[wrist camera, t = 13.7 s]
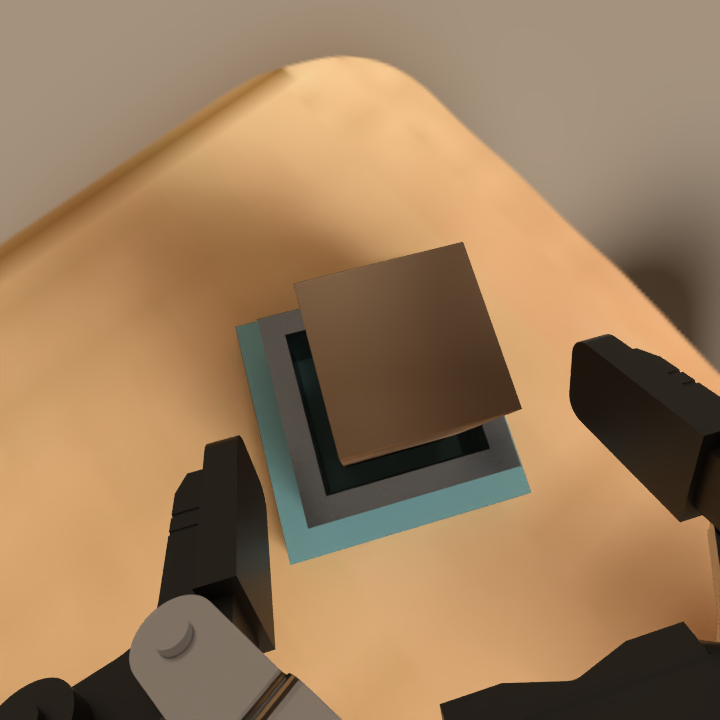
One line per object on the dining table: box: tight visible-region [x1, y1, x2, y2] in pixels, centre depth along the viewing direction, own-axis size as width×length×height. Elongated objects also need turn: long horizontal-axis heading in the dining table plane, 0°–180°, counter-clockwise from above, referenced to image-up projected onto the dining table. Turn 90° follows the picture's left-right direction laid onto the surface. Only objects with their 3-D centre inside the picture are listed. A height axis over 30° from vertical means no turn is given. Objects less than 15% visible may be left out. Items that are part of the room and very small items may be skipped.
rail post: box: [294, 242, 522, 468], centre depth 15 cm, size 4×4×10 cm
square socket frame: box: [257, 309, 521, 529], centre depth 18 cm, size 7×7×4 cm
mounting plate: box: [236, 321, 531, 565], centre depth 21 cm, size 10×10×2 cm
